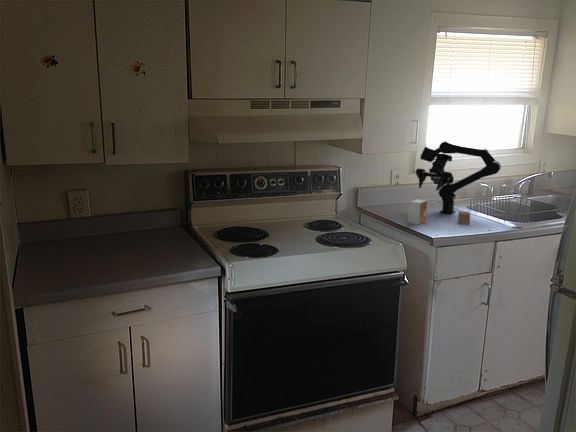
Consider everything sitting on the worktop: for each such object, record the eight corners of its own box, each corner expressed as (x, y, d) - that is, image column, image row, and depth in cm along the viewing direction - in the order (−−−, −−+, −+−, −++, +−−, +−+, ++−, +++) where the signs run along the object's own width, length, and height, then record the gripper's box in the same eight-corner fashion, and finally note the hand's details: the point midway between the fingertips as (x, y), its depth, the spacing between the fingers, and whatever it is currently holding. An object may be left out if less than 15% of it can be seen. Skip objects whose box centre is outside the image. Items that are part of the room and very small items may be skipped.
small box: (418, 225, 253) (420, 203, 250) (407, 223, 256) (409, 201, 253) (425, 221, 259) (427, 200, 256) (414, 219, 262) (416, 198, 259)
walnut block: (457, 221, 262) (458, 211, 261) (468, 221, 261) (469, 211, 259) (458, 223, 257) (459, 213, 256) (469, 224, 256) (470, 214, 255)
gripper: (460, 176, 273) (449, 201, 268) (426, 171, 285) (415, 195, 280) (455, 162, 265) (444, 187, 260) (420, 158, 277) (409, 183, 272)
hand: (428, 189), depth 268 cm, fingers open, 9 cm apart
